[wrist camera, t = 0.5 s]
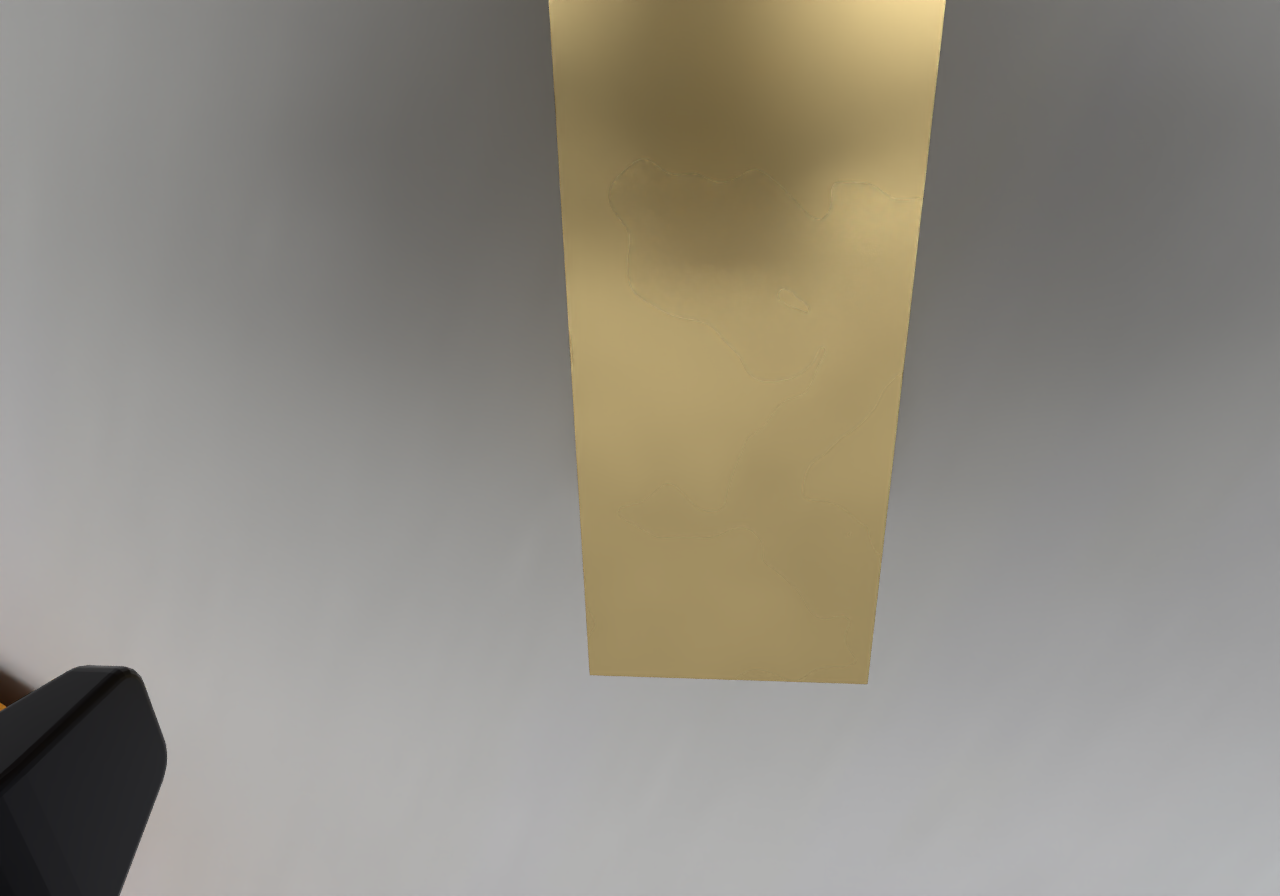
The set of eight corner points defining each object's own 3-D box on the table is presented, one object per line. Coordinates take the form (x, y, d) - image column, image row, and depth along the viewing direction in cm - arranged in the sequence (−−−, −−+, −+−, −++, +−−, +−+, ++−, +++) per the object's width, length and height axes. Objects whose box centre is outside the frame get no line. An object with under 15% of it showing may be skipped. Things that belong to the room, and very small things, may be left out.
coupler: (597, -115, 15) (542, -97, 10) (887, -120, 14) (957, -107, 10) (619, 492, 20) (589, 674, 15) (835, 496, 19) (867, 684, 15)
